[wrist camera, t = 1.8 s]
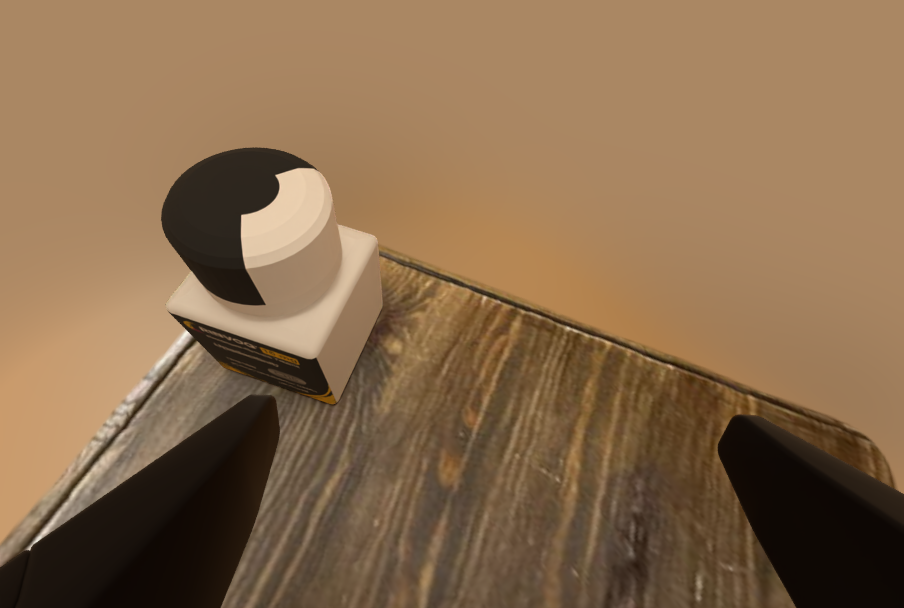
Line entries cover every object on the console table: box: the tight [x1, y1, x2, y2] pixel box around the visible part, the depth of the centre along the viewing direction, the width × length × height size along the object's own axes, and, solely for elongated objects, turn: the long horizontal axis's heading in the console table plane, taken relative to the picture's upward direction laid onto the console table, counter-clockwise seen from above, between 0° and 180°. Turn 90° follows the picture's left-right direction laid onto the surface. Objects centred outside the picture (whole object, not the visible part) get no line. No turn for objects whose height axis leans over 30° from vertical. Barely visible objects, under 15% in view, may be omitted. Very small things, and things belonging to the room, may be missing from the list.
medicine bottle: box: [161, 148, 383, 404], centre depth 20 cm, size 7×7×12 cm
